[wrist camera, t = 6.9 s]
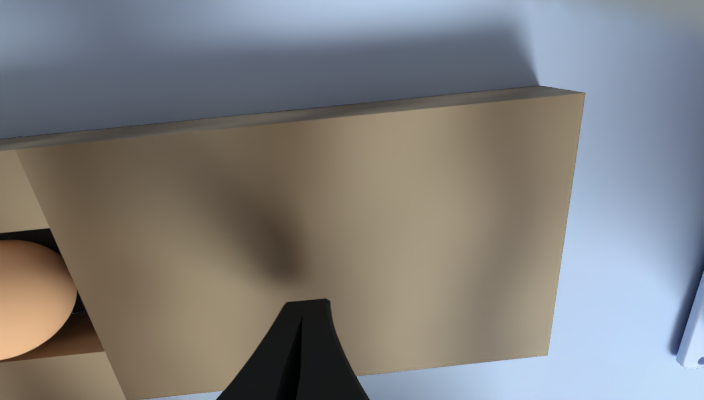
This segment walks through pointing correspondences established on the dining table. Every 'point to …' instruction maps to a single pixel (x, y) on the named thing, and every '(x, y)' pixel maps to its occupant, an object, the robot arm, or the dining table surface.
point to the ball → (32, 296)
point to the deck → (296, 237)
